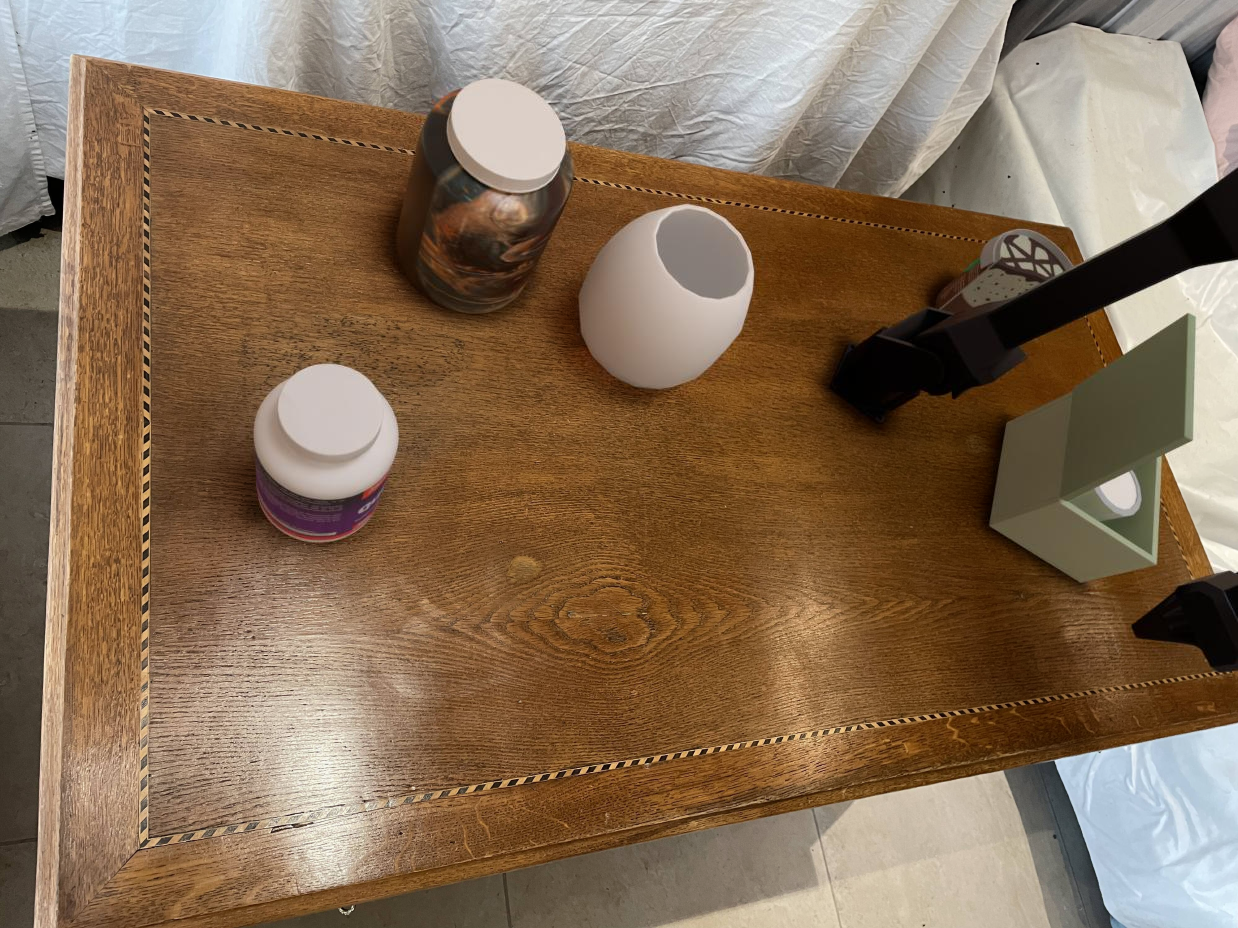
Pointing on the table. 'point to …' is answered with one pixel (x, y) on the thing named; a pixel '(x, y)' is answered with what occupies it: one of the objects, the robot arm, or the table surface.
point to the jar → (483, 195)
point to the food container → (1004, 270)
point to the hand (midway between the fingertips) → (1167, 617)
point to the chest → (1067, 503)
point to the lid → (1131, 410)
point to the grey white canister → (1111, 498)
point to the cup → (666, 296)
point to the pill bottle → (323, 452)
